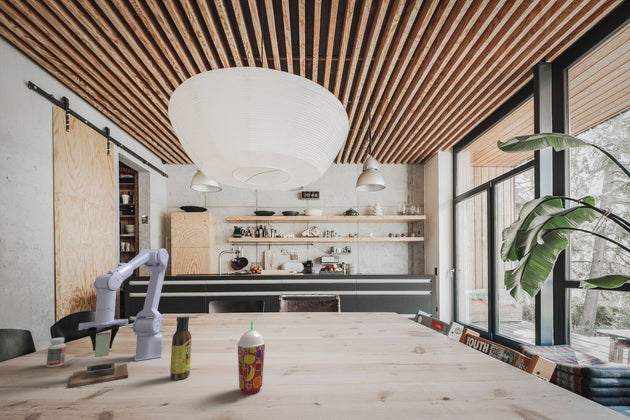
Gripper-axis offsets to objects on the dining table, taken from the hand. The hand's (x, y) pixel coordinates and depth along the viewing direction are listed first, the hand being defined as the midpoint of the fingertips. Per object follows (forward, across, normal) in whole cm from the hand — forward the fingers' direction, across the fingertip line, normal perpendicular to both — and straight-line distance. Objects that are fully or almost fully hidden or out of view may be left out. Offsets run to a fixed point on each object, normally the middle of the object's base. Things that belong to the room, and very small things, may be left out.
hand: (102, 349), depth 113 cm
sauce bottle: (+9, +23, -16) cm, 30 cm away
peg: (+2, 0, 0) cm, 2 cm away
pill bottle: (+9, -15, +24) cm, 30 cm away
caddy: (+9, 0, 0) cm, 9 cm away
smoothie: (+9, +39, -40) cm, 57 cm away
